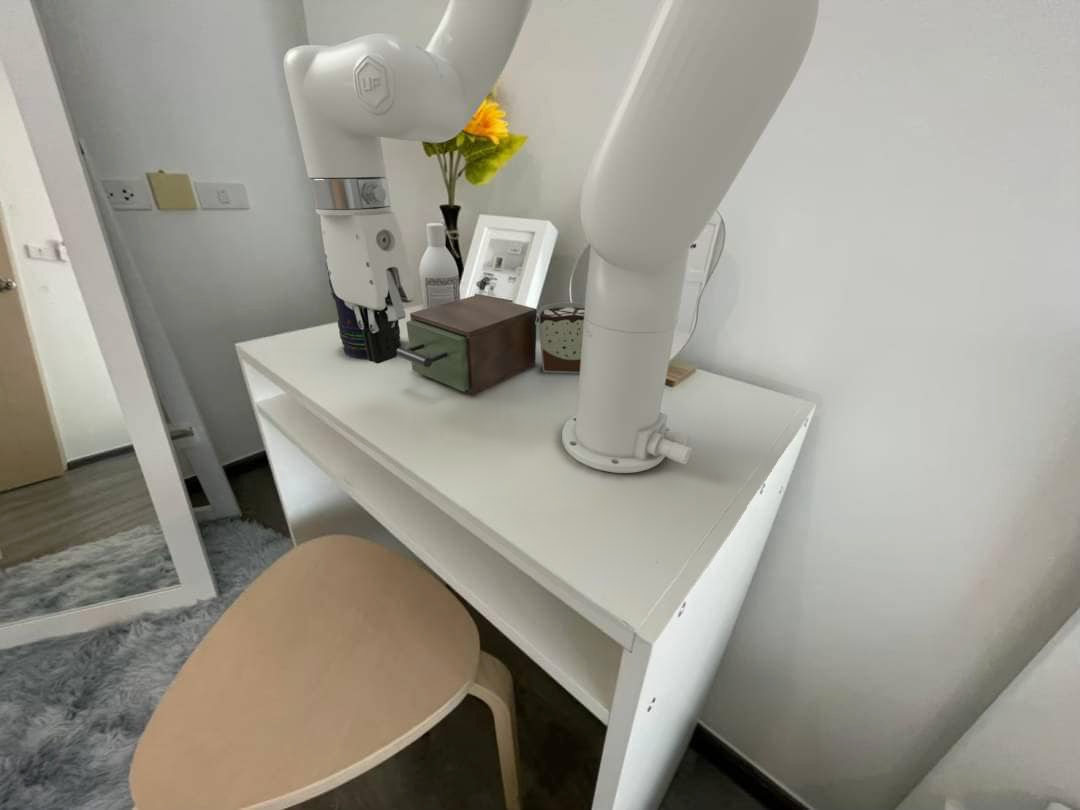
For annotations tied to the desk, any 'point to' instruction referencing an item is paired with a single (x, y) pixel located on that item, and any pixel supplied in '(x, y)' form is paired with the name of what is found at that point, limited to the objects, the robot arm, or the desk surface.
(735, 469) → the desk surface
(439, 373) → the drawer
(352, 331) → the storage jar
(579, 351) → the food container
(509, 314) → the cabinet
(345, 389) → the desk surface
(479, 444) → the desk surface
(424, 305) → the bath foam
